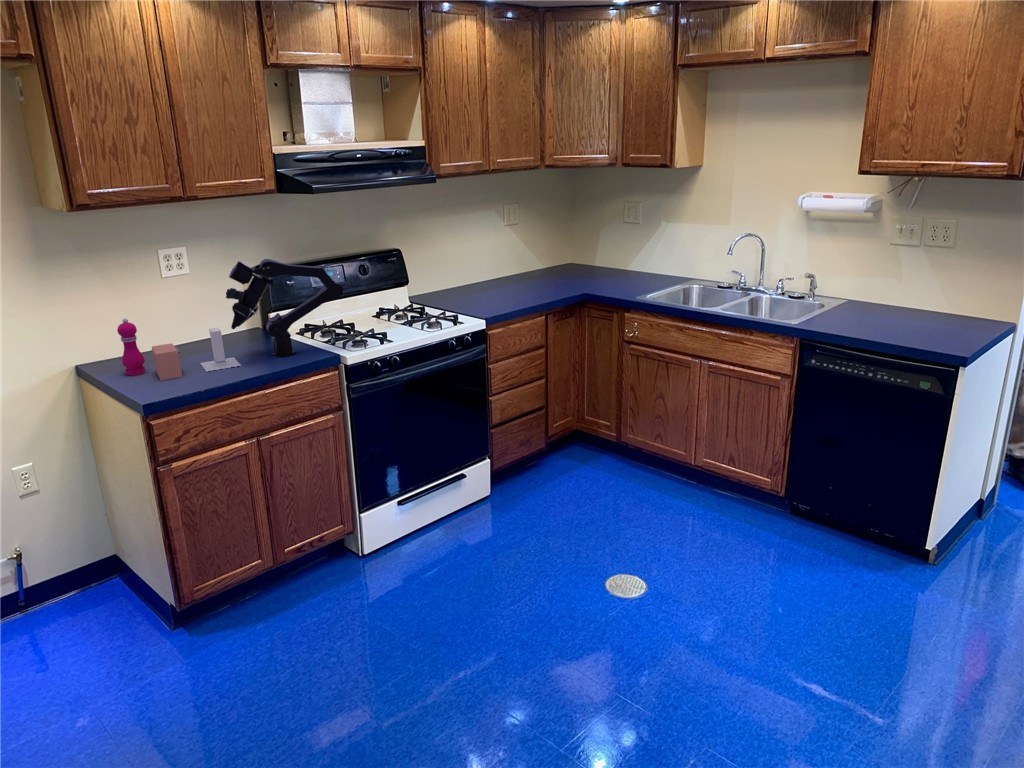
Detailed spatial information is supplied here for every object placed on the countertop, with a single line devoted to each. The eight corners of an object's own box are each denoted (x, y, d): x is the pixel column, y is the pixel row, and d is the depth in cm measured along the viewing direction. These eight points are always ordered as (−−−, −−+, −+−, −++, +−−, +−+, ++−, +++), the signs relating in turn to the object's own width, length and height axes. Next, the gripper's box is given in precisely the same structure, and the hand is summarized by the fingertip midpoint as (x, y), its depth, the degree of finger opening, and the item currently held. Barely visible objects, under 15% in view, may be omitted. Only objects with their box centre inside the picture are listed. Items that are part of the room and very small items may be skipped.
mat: (234, 358, 275) (233, 357, 275) (241, 366, 266) (241, 365, 266) (200, 364, 269) (200, 363, 269) (206, 372, 260) (206, 371, 260)
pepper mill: (121, 373, 261) (110, 318, 255) (142, 368, 266) (132, 314, 259) (128, 377, 256) (117, 322, 250) (150, 372, 261) (139, 318, 254)
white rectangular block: (223, 361, 270) (217, 327, 266) (226, 365, 266) (220, 330, 262) (214, 363, 269) (208, 328, 264) (217, 366, 265) (211, 331, 260)
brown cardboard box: (179, 367, 266) (175, 342, 263) (185, 376, 256) (180, 350, 253) (156, 371, 262) (151, 346, 259) (160, 380, 252) (155, 354, 249)
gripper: (239, 278, 275) (219, 314, 276) (229, 280, 257) (208, 318, 258) (267, 293, 278) (247, 329, 279) (258, 296, 260) (237, 334, 261)
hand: (234, 327), depth 269 cm, fingers open, 9 cm apart
